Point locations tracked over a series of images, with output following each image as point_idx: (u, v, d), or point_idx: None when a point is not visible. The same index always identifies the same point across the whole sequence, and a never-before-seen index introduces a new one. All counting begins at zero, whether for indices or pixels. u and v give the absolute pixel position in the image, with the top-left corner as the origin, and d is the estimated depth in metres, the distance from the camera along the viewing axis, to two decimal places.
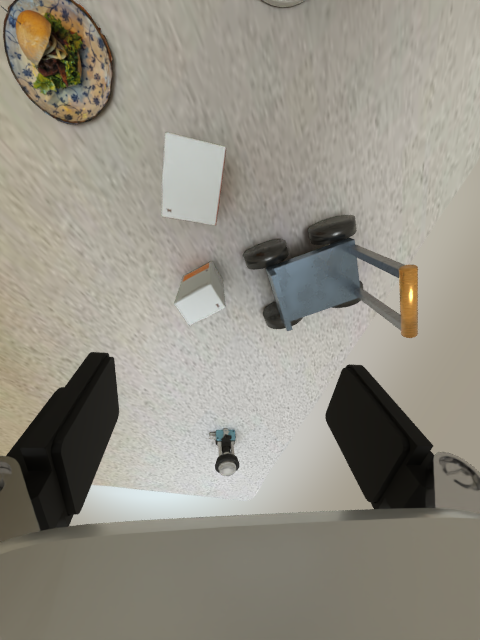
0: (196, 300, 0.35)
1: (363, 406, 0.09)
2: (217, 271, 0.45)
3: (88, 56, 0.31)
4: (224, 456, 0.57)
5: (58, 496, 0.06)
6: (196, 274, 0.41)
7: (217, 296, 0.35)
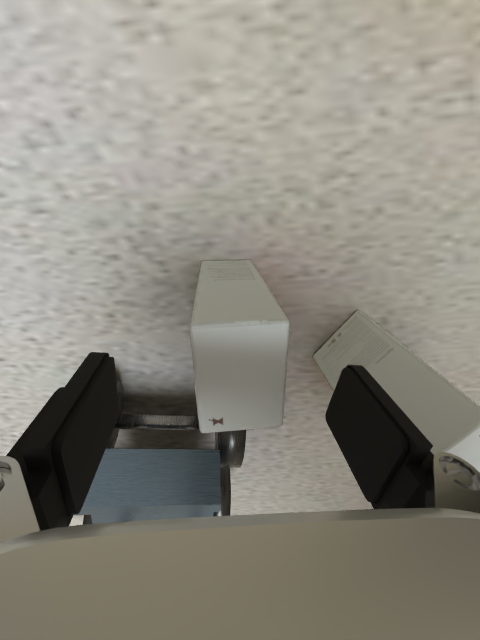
0: (262, 382, 0.11)
1: (363, 406, 0.09)
2: None
3: None
4: None
5: (58, 496, 0.06)
6: None
7: (242, 428, 0.13)
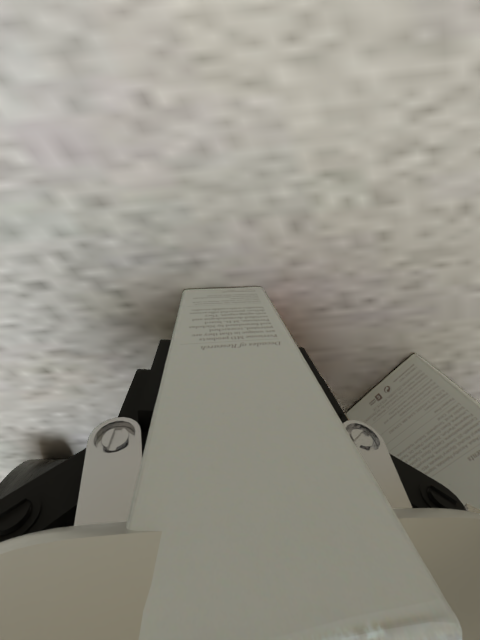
0: None
1: None
2: None
3: None
4: None
5: None
6: None
7: None
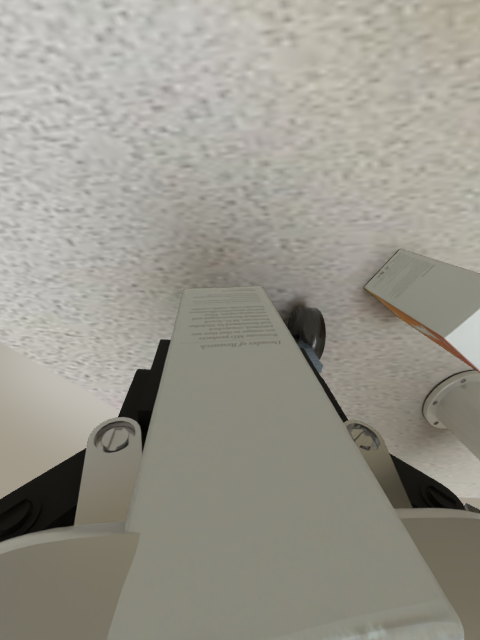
0: None
1: None
2: None
3: None
4: None
5: None
6: None
7: None
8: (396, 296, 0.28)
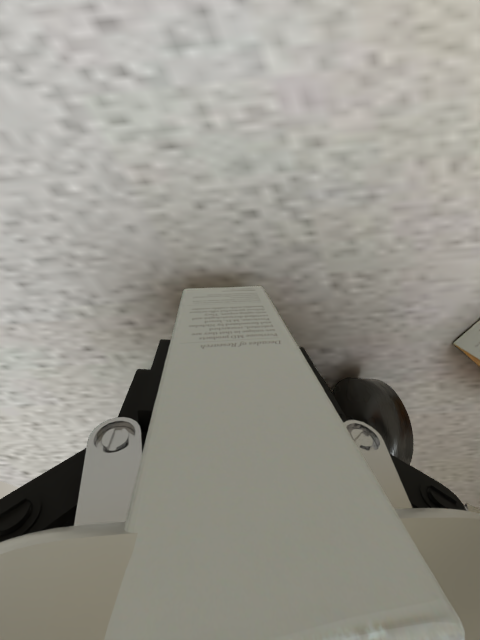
0: None
1: None
2: None
3: None
4: None
5: None
6: None
7: None
8: None
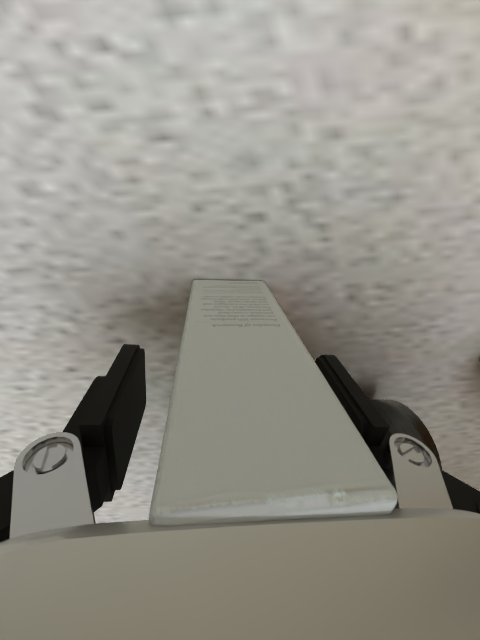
0: None
1: None
2: None
3: None
4: None
5: (106, 471, 0.07)
6: None
7: None
8: None
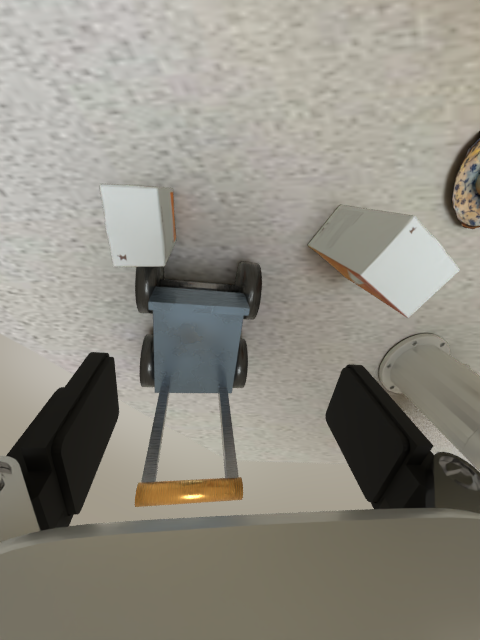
0: (146, 229, 0.20)
1: (363, 406, 0.09)
2: None
3: (474, 205, 0.34)
4: None
5: (59, 496, 0.06)
6: (172, 221, 0.27)
7: (139, 265, 0.21)
8: (330, 247, 0.29)
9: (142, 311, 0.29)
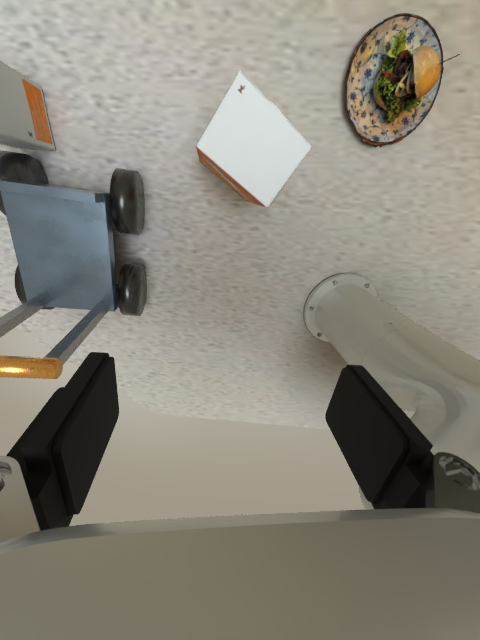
0: None
1: (363, 406, 0.09)
2: (34, 148, 0.30)
3: (377, 119, 0.32)
4: None
5: (59, 496, 0.06)
6: (29, 112, 0.26)
7: None
8: None
9: None
